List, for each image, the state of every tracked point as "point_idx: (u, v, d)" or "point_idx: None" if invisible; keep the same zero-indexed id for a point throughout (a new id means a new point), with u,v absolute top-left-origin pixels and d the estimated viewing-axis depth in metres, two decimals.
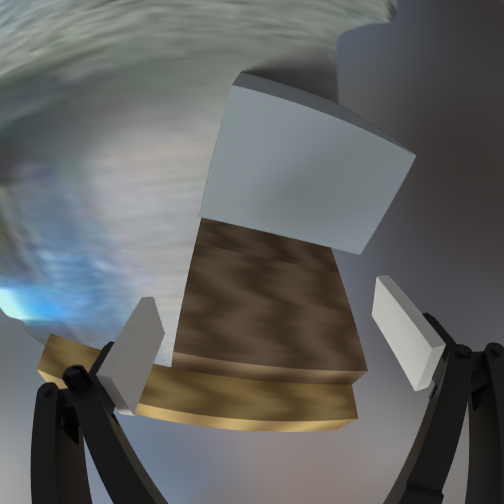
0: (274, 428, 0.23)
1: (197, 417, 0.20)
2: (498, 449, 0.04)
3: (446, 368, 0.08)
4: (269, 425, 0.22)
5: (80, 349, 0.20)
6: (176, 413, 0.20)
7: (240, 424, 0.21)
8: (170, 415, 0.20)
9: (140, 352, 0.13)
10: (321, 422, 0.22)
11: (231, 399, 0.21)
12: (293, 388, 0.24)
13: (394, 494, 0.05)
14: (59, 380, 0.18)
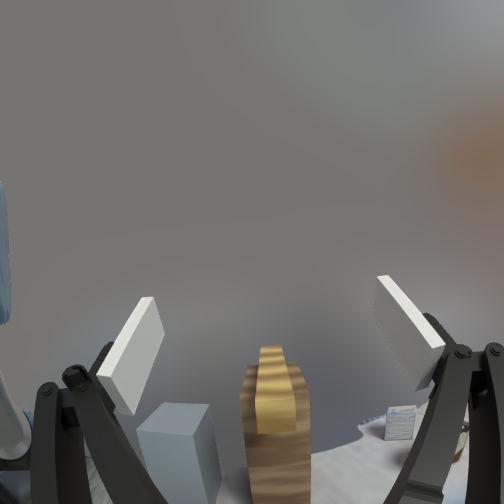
0: (275, 353, 0.47)
1: (265, 364, 0.40)
2: (498, 449, 0.04)
3: (446, 368, 0.08)
4: (268, 355, 0.46)
5: None
6: (264, 368, 0.38)
7: (270, 358, 0.44)
8: (272, 368, 0.37)
9: (140, 352, 0.13)
10: (263, 350, 0.51)
11: None
12: None
13: (394, 494, 0.05)
14: (260, 393, 0.27)
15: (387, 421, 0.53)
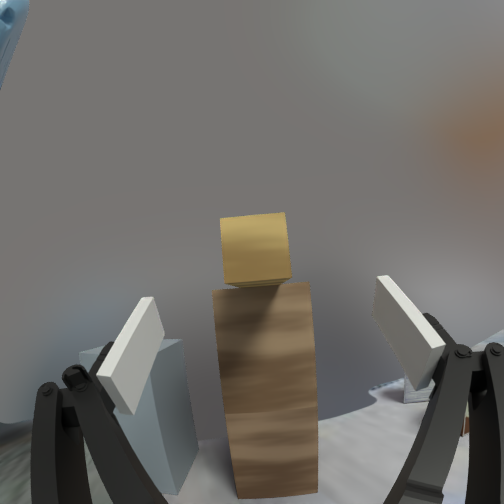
0: None
1: None
2: (498, 449, 0.04)
3: (446, 368, 0.08)
4: None
5: None
6: None
7: None
8: None
9: (140, 352, 0.13)
10: None
11: None
12: None
13: (394, 494, 0.05)
14: None
15: (406, 376, 0.46)
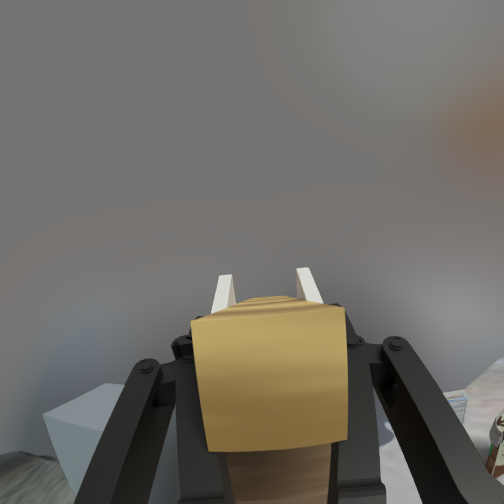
0: (272, 297, 0.29)
1: (253, 301, 0.22)
2: (435, 445, 0.05)
3: None
4: None
5: None
6: None
7: None
8: None
9: None
10: (254, 298, 0.33)
11: None
12: None
13: (332, 495, 0.05)
14: (223, 313, 0.09)
15: None
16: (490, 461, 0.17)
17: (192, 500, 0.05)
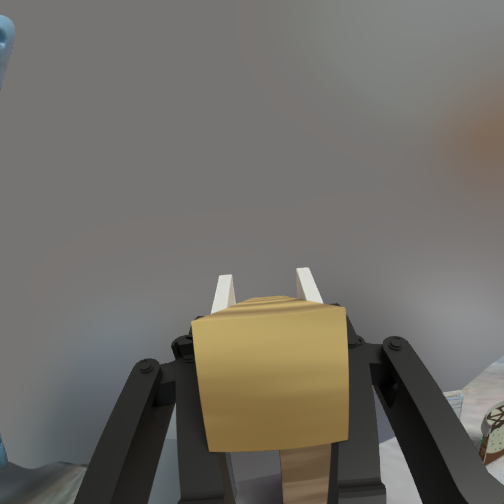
0: (272, 297, 0.29)
1: None
2: (434, 445, 0.05)
3: None
4: (261, 298, 0.28)
5: None
6: None
7: None
8: None
9: None
10: (254, 298, 0.33)
11: None
12: None
13: (332, 495, 0.05)
14: (224, 313, 0.09)
15: None
16: (482, 449, 0.24)
17: (192, 500, 0.05)
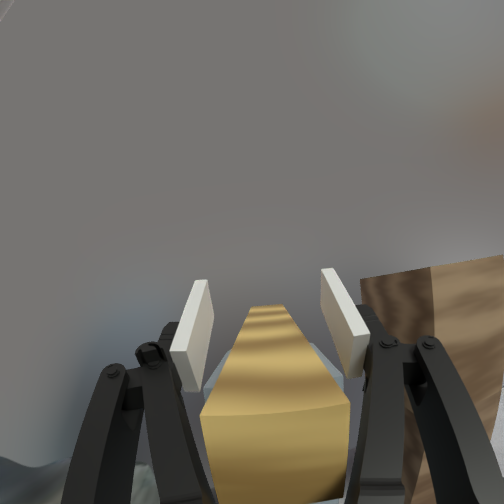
0: (273, 312, 0.28)
1: (254, 325, 0.21)
2: (456, 444, 0.05)
3: (373, 361, 0.09)
4: (262, 314, 0.28)
5: None
6: (252, 329, 0.19)
7: (265, 317, 0.25)
8: (267, 329, 0.19)
9: (202, 330, 0.14)
10: (255, 309, 0.32)
11: None
12: None
13: (352, 493, 0.05)
14: (229, 384, 0.09)
15: None
16: None
17: (171, 503, 0.05)
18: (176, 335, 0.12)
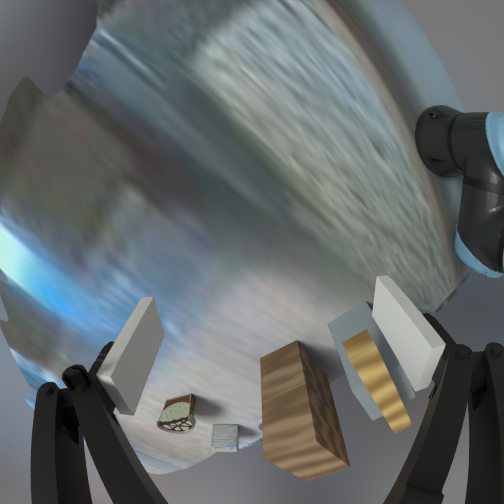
0: (393, 418, 0.40)
1: (394, 397, 0.37)
2: (498, 449, 0.04)
3: (446, 368, 0.08)
4: (398, 413, 0.39)
5: None
6: (392, 393, 0.37)
7: (394, 409, 0.39)
8: (386, 395, 0.37)
9: (140, 352, 0.13)
10: (406, 420, 0.41)
11: None
12: None
13: (394, 494, 0.05)
14: (377, 358, 0.33)
15: (235, 439, 0.69)
16: (192, 406, 0.66)
17: None
18: (106, 358, 0.10)
